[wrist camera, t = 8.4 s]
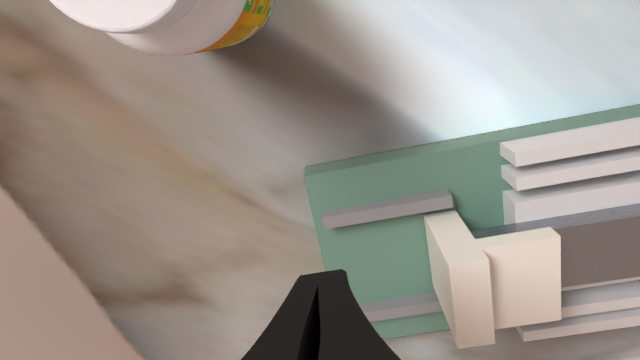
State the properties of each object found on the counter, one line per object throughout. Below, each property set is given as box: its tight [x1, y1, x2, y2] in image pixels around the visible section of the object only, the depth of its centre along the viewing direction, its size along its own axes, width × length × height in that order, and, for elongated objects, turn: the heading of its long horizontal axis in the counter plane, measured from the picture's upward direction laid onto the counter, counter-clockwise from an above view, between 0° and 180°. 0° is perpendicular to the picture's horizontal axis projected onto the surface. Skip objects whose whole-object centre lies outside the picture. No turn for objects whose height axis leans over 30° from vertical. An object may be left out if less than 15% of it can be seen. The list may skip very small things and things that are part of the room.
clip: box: [424, 210, 561, 349], centre depth 18 cm, size 4×4×4 cm
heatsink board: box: [304, 104, 640, 342], centre depth 20 cm, size 20×10×4 cm, turn 101°
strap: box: [470, 203, 640, 288], centre depth 18 cm, size 12×4×2 cm, turn 101°
